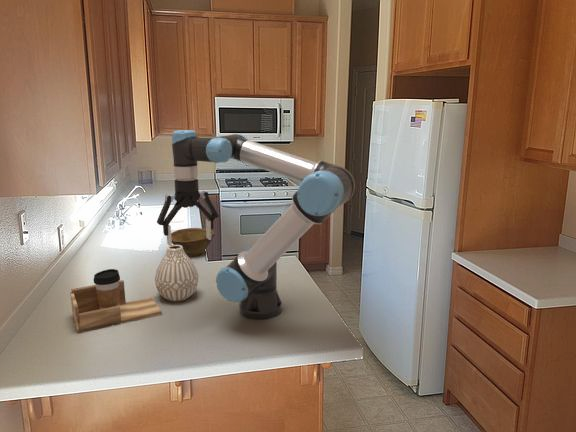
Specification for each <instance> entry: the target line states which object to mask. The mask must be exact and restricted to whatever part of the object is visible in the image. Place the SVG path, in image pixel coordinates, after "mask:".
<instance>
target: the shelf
mask: <svg viewBox="0 0 576 432" xmlns="http://www.w3.org/2000/svg"><path fill="white" fill-rule="evenodd" d="M119 284H120V301H119V306H114V307H109V308H104V309H100V306H99V302H98V298H97V293H96V285H95V284H93V285H88V286H82V287H76V288H71V291H69V294H70V295H69V296H70V303H71V310H72V311H71V313H72V318H73V321H74V325H75V328H76V332H77V334H81V333H87V332H90V331H95V330H98V329H99V328H100V329H103V328H104V329H105V328H108V326H109V327H113V326H116V325H117V324H118V325H121V323H122V324H126V323H129V322H134V321H140V320H143V319H149V318H153V317H157V316H162V315H163V314H162V312H163V311H162V310H161V309H160V307H159V305H158V304H157V303H156V301H155V300H154V299H153V297H150V296H149V297H146V298H141V299H135V300H132V301H126V293H125V291H126V290H125V280H123V279H120V280H119ZM112 325H113V326H112Z"/></svg>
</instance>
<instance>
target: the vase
mask: <svg viewBox="0 0 576 432" xmlns="http://www.w3.org/2000/svg"><path fill="white" fill-rule="evenodd" d="M154 282H155V288H156V290H157V291H158V294H160V296H161V297H162V298H164V299H165V300H167V301H169V302H182V301H183V302H184V301H185V300H187V299H189V298H190V297H192V295H193V294H195V292H196V290H197V287H198V285H199V273H198V270H197V267H196V265H195V263H194V261H192V259H191V257H190V256H187V255H186V253H185V251H184V249H183V247H182V246H181V245H173V244H172V246H169V245H168V246H167V248H166V252H165V254H164V256H163V258H162V259H161V260H160V262H159V264H158V266H157V268H156V272H155V276H154Z"/></svg>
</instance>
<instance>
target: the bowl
mask: <svg viewBox="0 0 576 432" xmlns="http://www.w3.org/2000/svg"><path fill="white" fill-rule="evenodd" d="M214 236H215V231H214V230H213V229H211V240H209V239H208V238H207V237H206V228H201V227H200V228H199V227H187V228H181V229H180V228H179V229H177V230H174V231H173V232H172V231H171V239H172V245H181V246H182V247H183V249H184V251H185V253H186V255H187V256H188V257H199V256H202V254H203V253H204V252H205V250H206V249H207V248H208V246H209V245H210V244H211V242H212V241H213V238H214Z"/></svg>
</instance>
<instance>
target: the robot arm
mask: <svg viewBox="0 0 576 432" xmlns="http://www.w3.org/2000/svg"><path fill="white" fill-rule="evenodd" d="M171 137H172V138H171V148H172V156H173V157H172V159H173V177H174V179H175V180H174V194H173V195H169V194H166V195H164V196H165V198H164V199H165V200H164V204H162V205H163V206H162V208H161V210H160V214H159V215H158V217H157V221H156V224H158V225H159V226H162V230H163V231H162V233H163V235H164V236H166V244H167V245H168V247H169V246H172V245H173V244H172V239H171V233H172V227H171V225H170V223H171V222H172V221H173V219H174V218H175V217H176V215H177V214H178V212H179V211H180V210H181V209H182V208H194V207H196V208H197V209H198V210H199V211H200V212H201V213H202V214H203V215H204V216H205V217H206V218H207V219H205V229H206V237H207V238H208V239H209V240H211V230H214V221H215V219H218V218H219V213H218V212H217V210H216V209H215V206H214V205H213V203H212V201H211V200H210V196H209V192H207V191H205V190H203V191H201V192H200V191H199V187H200V186H199V179H198V177H199V172H198V170H199V169H198V162H204V163H205V162H207V163H215V164H218V163H227V162H228V161H229V160H230V159H234V160H235V161H239V162H241V163H245V164H248V165H250V166H253V167H256V168H259V169H261V170H265V171H267V172H270V173H273V174H276V175H278V176H281V177H284V178H286V179H289V180H292V181H294V182H297V183H299V186H298V188H297V190H296V192H294V193H293V195H292V197H291V200H292V203H291V204H290V206H289V207H288V208H287V209H286V210H285V211H284V212H283V213H282V214H281V215H280V217H278V218H277V220H275V221H274V223H273V224H272V225H271V226H270V227H269V228H268V229H267V231H265V232H264V234H263V235H261V237H260V238H259V239H258V240H257V241H256V242H255V243H254V244H253V245H252V246H247V247H244V248H242V251H241V252H239V254H237V256H236V257H234V259H233V260H232V261H231V262H230V263H229V264H228V265H226V266H225V267H222V268H221V269H220V270H219V271H218V272H217V274H216V278H215V283H216V288H217V290H218V292H219V295H221V296H222V298H224V299H225V300H226V301H228V302H233V303H239V304H238V311H239V314H240V315H241V316H243V317H245V318H248V319H254V320H263V319H270V318H274V317H276V316H278V315H280V314H281V312H282V311H283V309H282V308H283V307H282V305H283V304H282V300H281V297H280V294H279V292H278V290H277V283H278V281H277V280H278V279H277V269H278V268H277V266H278V265H277V262H278V261H279V260H280V258H282V257H283V256H284V255H285V254H286V253H287V252H288V251H289V250H290V249H291V247H293V246H294V244H295V243H297V242H298V241H299V239H300V238H301V237H302V236H303V235H305V234H306V233H307V231H308V230H310V229H311V227H313V226H314V225H321V224H323V223H324V222H325V221H326V220H327V219H328V218H329V217H330V216H331V215H332V214H333V213H334V212H335V211H337V209H338V208H339V207H341V206H343V205H344V204H346V203H348V202H349V200H351V198H352V197H353V196H354V193H355V188H356V182H355V178H354V177H353V175H352V173H351V172H350V171H349V170H348V169H347V168H344V167H343V166H340V165H337V164H333V163H331V162H327V161H324V160H319V161H318V162H315V161H313V160H310V159H308V158H304V157H300V156H298V155H295V154H292V153H289V152H286V151H283V150H280V149H277V148H273V147H271V146H268V145H264V144H261V143H259V142H256V141H253V140H249V139H248V138H247V137H246V136H245V135H242V134H236V133H235V134H234V133H233V134H229V135H220V136H214V137H213V136H212V137H209V136H207V137H205V136H204V137H200V136H197V132H196V131H195V129H194V130H193V129H184V130H183V129H179V130H173V131H172V135H171ZM200 198H201V199H203V200H204V202H205V205H206V206H207V208H208V209H209V211H210V212H209V211H207V209H206V208H205V207H204V206H203V205H202V203H200V202H199V199H200ZM174 200H175V203H174V205H173V207H172V209H171V210H170V212H169V209H170V206H171V203H172V202H173V201H174ZM211 241H212V240H211Z"/></svg>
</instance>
